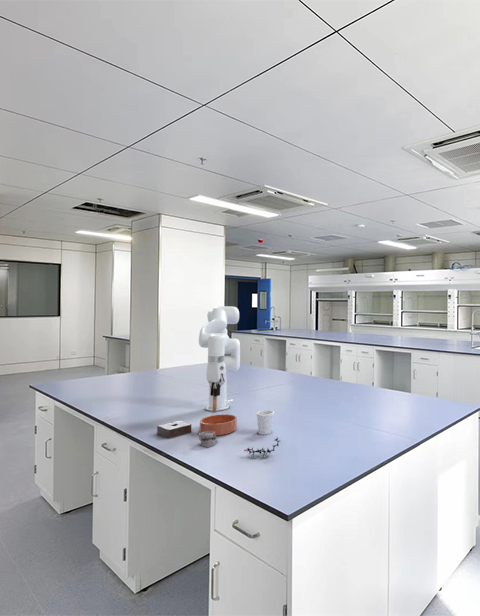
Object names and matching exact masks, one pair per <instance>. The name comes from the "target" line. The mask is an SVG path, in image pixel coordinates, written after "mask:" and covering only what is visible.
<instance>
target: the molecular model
mask: <svg viewBox="0 0 480 616" xmlns="http://www.w3.org/2000/svg"><path fill="white" fill-rule="evenodd" d="M273 442H277V444H272V445H271V446H272V449H269V447H266V449H267V450H265V447H264V446H262V447H261V448H260V447H257V448H256V450H254V446H248V447H246V449H244V450H243V452H246V454H248V456H249V457H250V458H256V456H255V453H257V455H259V456H260V458H263V457H264V458H267V455H268V454H269V456H271V455H272V452H274V453H275V452H276V450H275V447H280V444H279V442H282V439H280V440H279V436H276V438H275V439H273ZM262 453H263V455H261V454H262Z"/></svg>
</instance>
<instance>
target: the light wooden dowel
mask: <svg viewBox="0 0 480 616" xmlns="http://www.w3.org/2000/svg"><path fill="white" fill-rule="evenodd" d="M214 388H215V384H214V385H213V394H214ZM217 412H218V411H217V396H215V397H214V396H213V411H212V413H217Z"/></svg>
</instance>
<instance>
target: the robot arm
mask: <svg viewBox="0 0 480 616" xmlns="http://www.w3.org/2000/svg"><path fill="white" fill-rule="evenodd" d="M206 317H207V321H208V322H207V323H206V324H204V325H203V326H202V327H201V328H200V329H199V335H198V345H199V346H200V347H201V348H204V349H206V348H207V364H206V365H207V366H206V380H207V383H208V384H209V387H208V405H207V406H206V407H205V410H206V411H210V412H213V396H214V397H215V396H217V412H219V411H224V410H228V409H229V408H230V405H229V404H232V403H234V399H233V398H232V399H227V389H228V379H227V373H230V372H234V373H235V372H238V371H239V370H240V367H241V341H240V340H239V339H238V338H233V337H232V338H230V336H229V335H228V329H227V327H228V325H236V324H238V323H239V321H240V311H239V308H238V307H236V306H229V305H226V306H225V305H219V306H214V307H213V308H212V309H211V310H209V311H207V315H206ZM214 384H215V388H214V394H213V385H214Z"/></svg>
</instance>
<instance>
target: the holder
mask: <svg viewBox="0 0 480 616" xmlns="http://www.w3.org/2000/svg"><path fill="white" fill-rule="evenodd" d="M156 427H157V428H156V435H159V436H161V437H163V438H166V439H173V438H176V437H179V436H183V435H186V434H191V433H192V424H191V423H188V422H185V421H182V420H176V421H172V422H168V423H163V424H158V425H157V426H156Z"/></svg>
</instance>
